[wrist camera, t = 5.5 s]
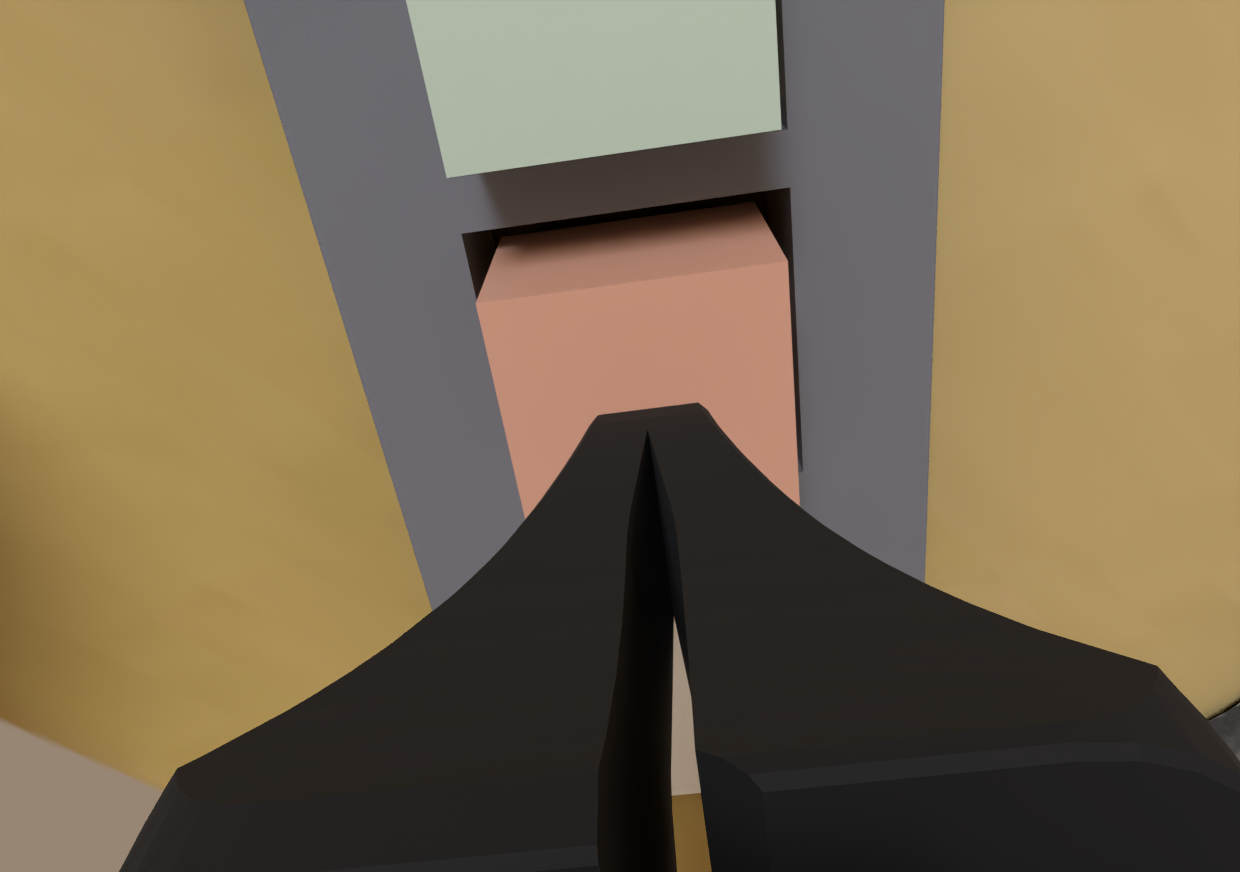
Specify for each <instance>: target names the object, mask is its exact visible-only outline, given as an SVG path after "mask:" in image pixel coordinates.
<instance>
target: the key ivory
mask: <svg viewBox="0 0 1240 872" xmlns="http://www.w3.org/2000/svg"><path fill="white" fill-rule="evenodd" d="M671 788H672V796H675V795H685V794H694V793H701V789H700V782H699V775H698V768H697V760H696V753H695V742H694V727H693V713H692V699H691V694H690V689H689V684H688V680H687V675H686V670H685V666H684V661H683V656H682V651H681V647H680V642H679V637H678V633H677V628H676V623H675V618H674V639H673V698H672V752H671Z"/></svg>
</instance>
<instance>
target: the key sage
mask: <svg viewBox="0 0 1240 872" xmlns="http://www.w3.org/2000/svg"><path fill="white" fill-rule="evenodd" d="M406 3H407V7H408V12H409V16H410V20H411V25H412V29H413V33H414V38H415V42H416V46H417V51H418V55H419V59H420V64H421V68H422V73H423V77H424V81H425V86H426V90H427V94H428V99H429V103H430V107H431V112H432V116H433V120H434V125H435V129H436V133H437V138H438V142H439V147H440V151H441V155H442V160H443V164H444V168H445V173H446V177H447V178H451V177H458V176H464V175H471V174H478V173H485V172H492V171H499V170H506V169H513V168H520V167H527V166H533V165H540V164H547V163H554V162H561V161H568V160H575V159H582V158H589V157H596V156H603V155H609V154H616V153H623V152H630V151H637V150H644V149H651V148H658V147H665V146H672V145H678V144H685V143H692V142H699V141H706V140H713V139H720V138H727V137H734V136H741V135H747V134H754V133H761V132H768V131H775V130H782V129H781V108H780V87H779V67H778V46H777V26H776V5H775V0H406Z"/></svg>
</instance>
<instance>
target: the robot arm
mask: <svg viewBox="0 0 1240 872" xmlns="http://www.w3.org/2000/svg"><path fill="white" fill-rule="evenodd" d="M674 618H675V623H676V628H677V633H678V637H679V642H680V647H681V651H682V656H683V661H684V666H685V670H686V675H687V680H688V684H689V689H690V694H691V699H692V713H693V727H694V742H695V753H696V760H697V768H698V775H699V782H700V789H701V796H702V804H703V811H704V818H705V825H706V832H707V840H708V847H709V854H710V861H711V868H712V872H1240V761H1239V759H1238V758H1237V757H1236V755H1235V754H1234V753H1233V751H1232V750H1231V749H1230V748H1229V746H1228V745H1227V744H1226V743H1225V741H1224V740H1223V739H1222V738H1221V737H1220V735H1219V734H1218V733H1217V732H1216V730H1215V729H1214V728H1213V727H1212V726H1211V724H1210V723H1209V722H1208V721H1207V719H1206V718H1205V717H1204V716H1203V715H1202V714H1201V713H1200V712H1199V711H1198V710H1197V709H1196V708H1195V707H1194V705H1193V704H1192V703H1191V702H1190V701H1189V700H1188V699H1187V698H1186V697H1185V696H1184V695H1183V694H1182V693H1181V692H1180V691H1179V690H1178V689H1177V687H1176V686H1175V685H1174V684H1173V683H1172V682H1171V681H1170V680H1169V679H1168V677H1167V676H1166V675H1165V674H1164V673H1163V672H1162V671H1161V669H1160V668H1159V667H1158V666H1156V665H1152V664H1149V663H1146V662H1143V661H1139V660H1136V659H1133V658H1129V657H1126V656H1123V655H1119V654H1116V653H1113V652H1110V651H1106V650H1103V649H1100V648H1096V647H1093V646H1090V645H1087V644H1083V643H1080V642H1077V641H1073V640H1070V639H1067V638H1064V637H1060V636H1057V635H1054V634H1050V633H1047V632H1044V631H1041V630H1038V629H1035V628H1032V627H1029V626H1026V625H1024V624H1021V623H1019V622H1016V621H1014V620H1011V619H1008V618H1006V617H1003V616H1001V615H998V614H996V613H993V612H990V611H988V610H985V609H983V608H980V607H978V606H975V605H972V604H970V603H968V602H965V601H963V600H961V599H958V598H956V597H954V596H952V595H949V594H947V593H945V592H943V591H940V590H938V589H936V588H934V587H932V586H929V585H927V584H926V583H924V582H922V581H920V580H918V579H916V578H914V577H912V576H910V575H908V574H906V573H904V572H902V571H900V570H898V569H896V568H894V567H892V566H890V565H888V564H886V563H884V562H883V561H881V560H879V559H877V558H876V557H874V556H872V555H870V554H868V553H867V552H865V551H863V550H862V549H860V548H858V547H857V546H855V545H854V544H852V543H851V542H849V541H847V540H846V539H844V538H843V537H841V536H840V535H838V534H837V533H835V532H834V531H832V530H831V529H829V528H827V527H826V526H824V525H823V524H822V523H820V522H819V521H818V520H816V519H815V518H814V517H813V516H811V515H810V514H809V513H807V512H806V511H805V510H804V509H803V508H801V507H800V506H799V505H798V504H796V503H795V502H794V501H793V500H792V499H790V498H789V497H788V496H787V495H786V494H784V493H783V492H782V491H781V490H780V489H779V488H778V487H777V486H776V485H774V484H773V483H772V482H771V481H770V480H769V479H768V478H767V477H766V476H765V475H764V474H763V473H762V472H761V471H760V470H759V469H758V468H757V467H756V466H755V465H754V464H753V463H752V462H751V461H750V460H749V459H748V458H747V457H746V456H745V455H744V454H743V453H742V452H741V451H740V450H739V449H738V448H737V447H736V445H735V444H734V443H733V442H732V441H731V440H730V439H729V437H728V436H727V435H726V434H725V433H724V432H723V430H722V429H721V428H720V427H719V425H718V424H717V423H716V421H715V420H714V418H713V417H712V416H711V414H710V412H709V411H708V410H707V409H706V408H705V407H704V406H702V405H701V404H700V403H698V402H697V403H689V404H681V405H673V406H666V407H658V408H650V409H642V410H634V411H626V412H618V413H610V414H602V415H598V416H597V417H596V418H595V419H594V420H593V422H592V423H591V424H590V426H589V427H588V429H587V431H586V432H585V434H584V436H583V437H582V439H581V441H580V442H579V444H578V446H577V447H576V449H575V450H574V452H573V454H572V455H571V457H570V458H569V460H568V461H567V463H566V464H565V466H564V468H563V469H562V470H561V472H560V473H559V475H558V476H557V478H556V479H555V480H554V482H553V483H552V485H551V486H550V487H549V489H548V490H547V492H546V493H545V494H544V496H543V497H542V499H541V500H540V501H539V503H538V504H537V505H536V507H535V508H534V509H533V510H532V512H531V513H530V514H529V515H528V517H527V518H526V519H525V520H524V521H523V523H522V524H521V525H520V526H519V527H518V529H517V530H516V531H515V532H514V534H513V535H512V536H511V537H510V538H509V540H508V541H507V542H506V543H505V544H504V545H503V547H502V548H501V549H500V550H499V551H498V552H497V553H496V554H495V555H494V556H493V557H492V558H491V559H490V560H489V561H488V562H487V563H486V564H485V565H484V566H483V567H482V568H481V569H480V570H479V571H478V572H477V573H476V574H475V575H474V576H473V577H472V578H471V579H469V580H468V581H467V582H466V583H465V584H464V585H463V586H462V587H461V588H460V589H459V590H458V591H457V592H455V593H454V594H453V595H452V596H451V597H450V598H448V599H447V600H446V601H445V602H443V603H442V604H441V605H440V606H438V607H437V608H436V609H435V610H433V611H432V612H431V613H430V614H428V615H427V616H426V617H425V618H423V619H422V620H421V621H419V622H418V623H417V624H416V625H414V626H413V627H412V628H411V629H409V630H408V631H407V632H406V633H404V634H403V635H402V636H401V637H399V638H398V639H397V640H395V641H394V642H393V643H392V644H390V645H389V646H387V647H386V648H385V649H383V650H382V651H380V652H379V653H377V654H376V655H374V656H373V657H372V658H370V659H369V660H367V661H366V662H364V663H363V664H361V665H360V666H358V667H357V668H355V669H354V670H352V671H351V672H349V673H348V674H346V675H345V676H343V677H342V678H340V679H338V680H337V681H335V682H334V683H332V684H330V685H329V686H327V687H326V688H324V689H322V690H321V691H319V692H318V693H316V694H315V695H313V696H311V697H310V698H308V699H306V700H305V701H303V702H301V703H299V704H298V705H296V706H294V707H293V708H291V709H289V710H288V711H286V712H284V713H282V714H280V715H278V716H277V717H275V718H273V719H271V720H269V721H267V722H265V723H263V724H262V725H260V726H258V727H256V728H254V729H252V730H250V731H249V732H247V733H245V734H243V735H241V736H239V737H237V738H235V739H234V740H232V741H230V742H228V743H226V744H224V745H222V746H220V747H219V748H217V749H215V750H213V751H211V752H209V753H207V754H206V755H204V756H202V757H200V758H198V759H196V760H194V761H192V762H190V763H187V764H185V765H183V766H181V767H179V768H177V770H176V771H175V773H174V775H173V776H172V778H171V780H170V781H169V783H168V784H167V786H166V788H165V789H164V791H163V793H162V795H161V796H160V798H159V800H158V802H157V803H156V805H155V807H154V809H153V810H152V812H151V814H150V815H149V817H148V819H147V821H146V822H145V824H144V826H143V828H142V830H141V832H140V833H139V835H138V837H137V839H136V841H135V843H134V845H133V847H132V848H131V850H130V852H129V854H128V856H127V858H126V860H125V862H124V864H123V865H122V867H121V869H120V871H119V872H677V866H676V853H675V841H674V828H673V816H672V788H671V752H672V698H673V639H674Z"/></svg>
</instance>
